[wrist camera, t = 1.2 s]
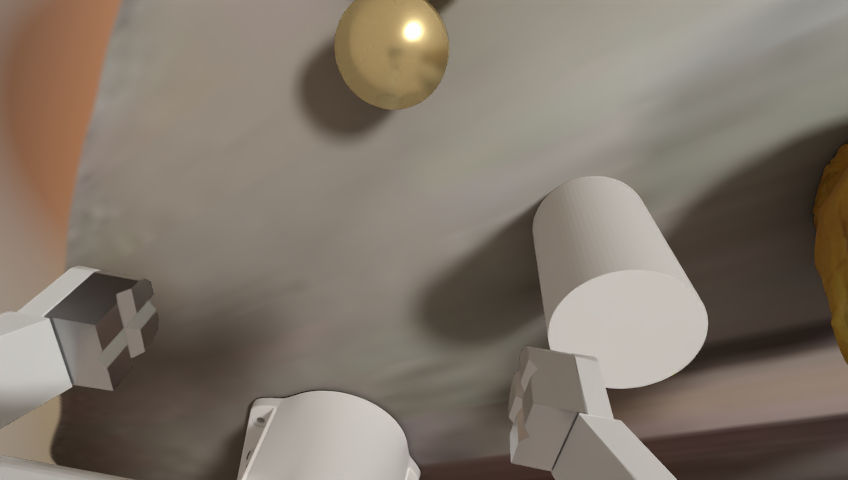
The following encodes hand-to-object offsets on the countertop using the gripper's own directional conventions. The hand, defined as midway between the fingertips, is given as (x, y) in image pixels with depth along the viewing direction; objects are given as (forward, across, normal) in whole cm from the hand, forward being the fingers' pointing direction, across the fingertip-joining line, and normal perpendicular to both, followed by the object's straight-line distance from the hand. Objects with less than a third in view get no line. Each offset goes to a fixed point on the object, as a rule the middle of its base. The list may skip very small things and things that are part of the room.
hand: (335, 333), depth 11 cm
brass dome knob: (+26, +2, -1) cm, 26 cm away
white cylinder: (+26, -13, +10) cm, 30 cm away
